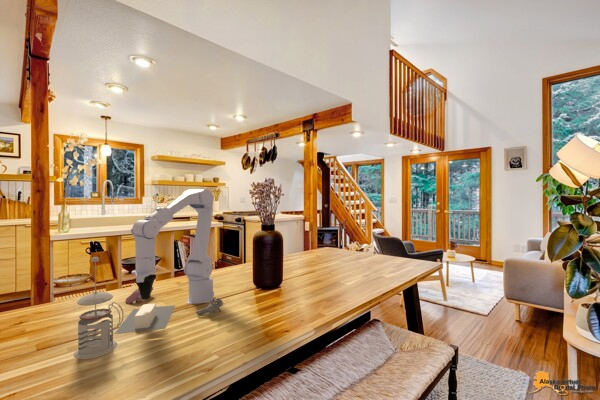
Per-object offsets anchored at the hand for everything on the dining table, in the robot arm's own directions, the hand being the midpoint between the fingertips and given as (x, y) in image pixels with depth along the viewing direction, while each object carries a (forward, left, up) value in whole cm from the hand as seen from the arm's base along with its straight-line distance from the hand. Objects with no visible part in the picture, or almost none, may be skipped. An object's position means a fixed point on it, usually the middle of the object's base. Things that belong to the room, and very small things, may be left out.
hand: (145, 298), depth 96 cm
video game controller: (+7, -24, -8) cm, 26 cm away
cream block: (0, -5, -6) cm, 7 cm away
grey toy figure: (-20, 0, -8) cm, 22 cm away
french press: (+8, +15, -8) cm, 19 cm away
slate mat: (0, -3, -8) cm, 8 cm away
